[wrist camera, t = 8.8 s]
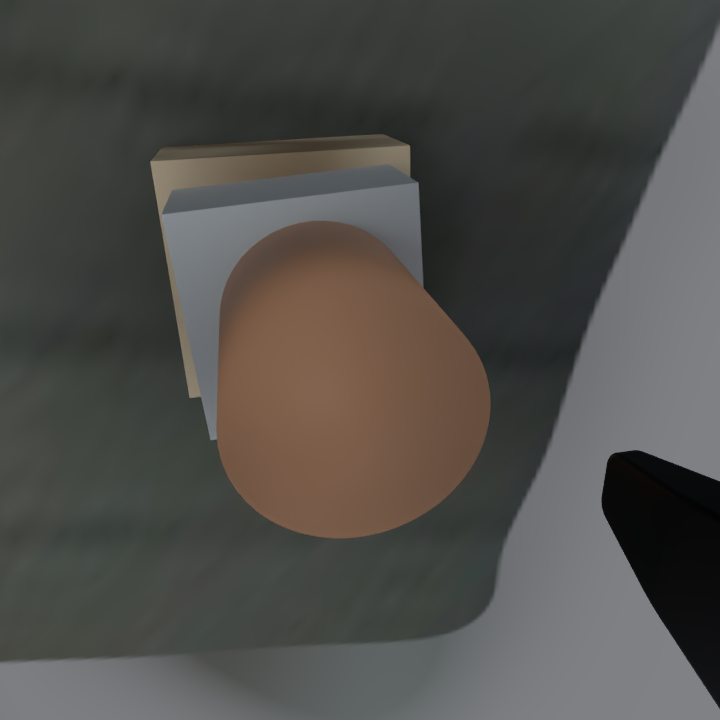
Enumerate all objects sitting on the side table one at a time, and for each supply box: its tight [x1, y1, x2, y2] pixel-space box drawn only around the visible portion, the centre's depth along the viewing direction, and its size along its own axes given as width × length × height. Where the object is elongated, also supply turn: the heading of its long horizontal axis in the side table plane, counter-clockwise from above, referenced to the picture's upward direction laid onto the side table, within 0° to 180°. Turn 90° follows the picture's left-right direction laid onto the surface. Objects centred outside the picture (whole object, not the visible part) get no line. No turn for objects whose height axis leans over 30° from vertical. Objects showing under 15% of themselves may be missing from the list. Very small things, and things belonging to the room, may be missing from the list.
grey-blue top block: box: [161, 164, 424, 440], centre depth 16 cm, size 6×6×3 cm
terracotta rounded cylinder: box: [216, 221, 491, 538], centre depth 13 cm, size 4×4×5 cm
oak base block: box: [150, 134, 410, 398], centre depth 19 cm, size 6×6×4 cm
